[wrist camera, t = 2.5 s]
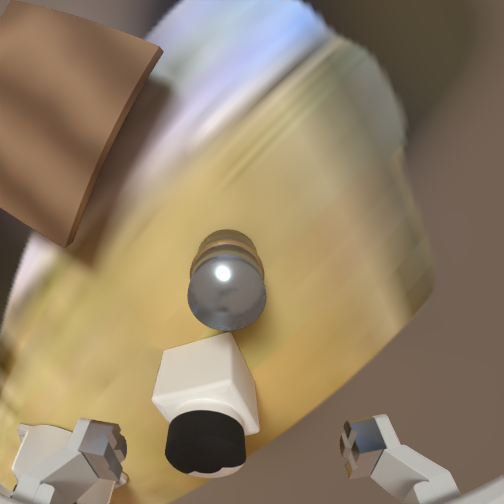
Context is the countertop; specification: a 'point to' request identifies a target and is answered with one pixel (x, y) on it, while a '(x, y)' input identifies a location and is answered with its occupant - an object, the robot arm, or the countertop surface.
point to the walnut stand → (61, 110)
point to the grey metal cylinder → (227, 282)
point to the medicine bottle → (206, 406)
